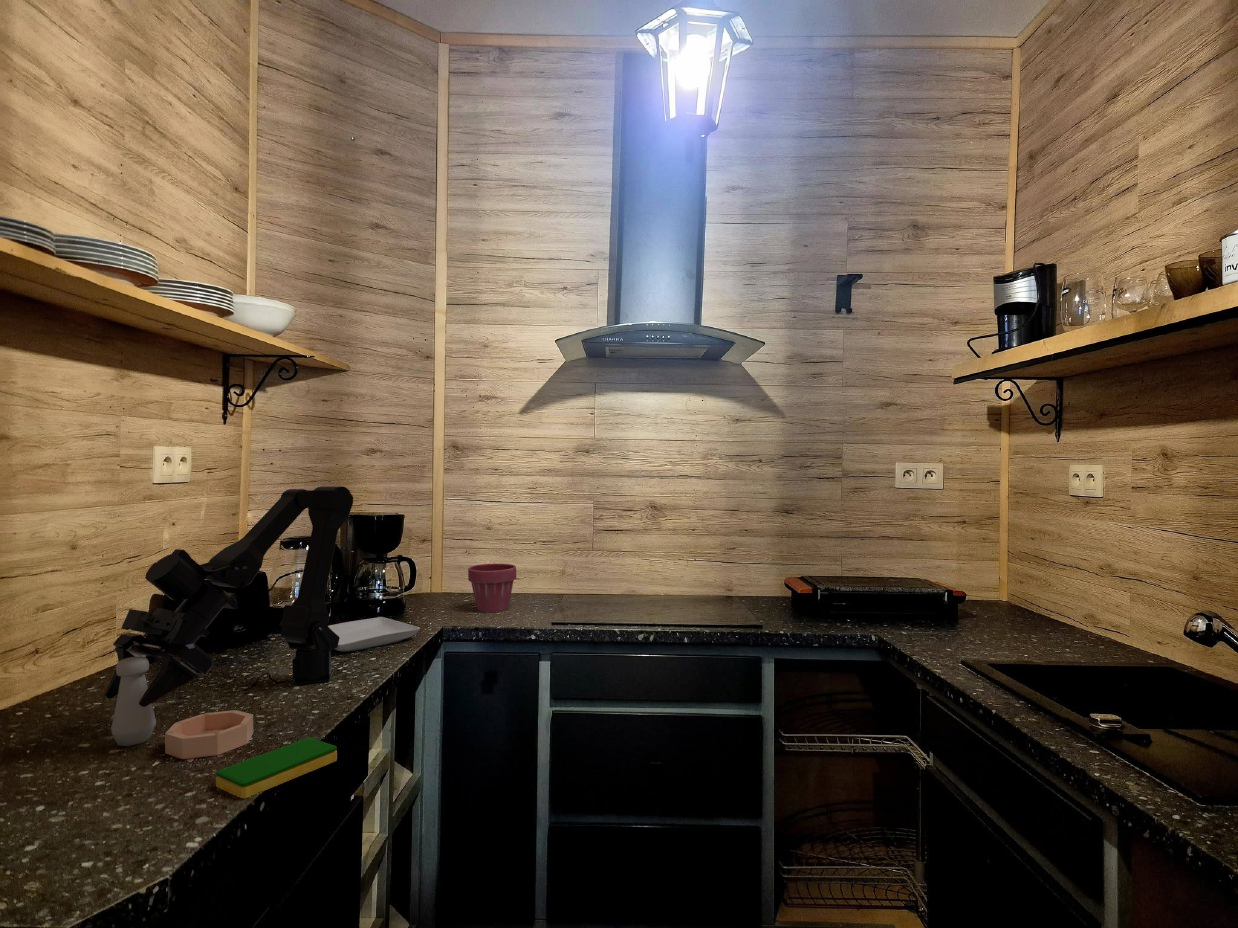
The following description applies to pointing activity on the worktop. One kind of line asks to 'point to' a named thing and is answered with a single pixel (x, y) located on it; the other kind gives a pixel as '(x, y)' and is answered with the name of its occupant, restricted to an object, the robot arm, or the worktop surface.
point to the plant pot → (492, 586)
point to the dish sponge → (275, 767)
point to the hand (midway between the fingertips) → (123, 701)
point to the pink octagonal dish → (209, 734)
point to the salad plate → (371, 633)
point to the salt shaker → (132, 704)
